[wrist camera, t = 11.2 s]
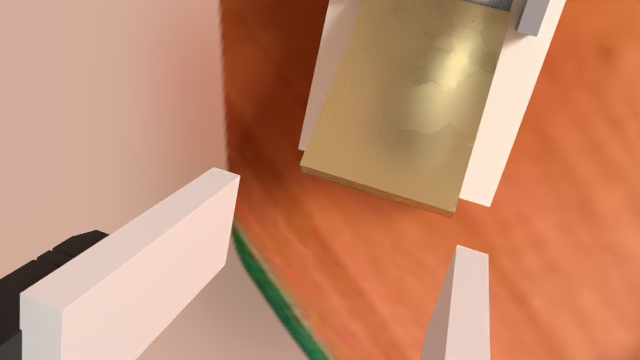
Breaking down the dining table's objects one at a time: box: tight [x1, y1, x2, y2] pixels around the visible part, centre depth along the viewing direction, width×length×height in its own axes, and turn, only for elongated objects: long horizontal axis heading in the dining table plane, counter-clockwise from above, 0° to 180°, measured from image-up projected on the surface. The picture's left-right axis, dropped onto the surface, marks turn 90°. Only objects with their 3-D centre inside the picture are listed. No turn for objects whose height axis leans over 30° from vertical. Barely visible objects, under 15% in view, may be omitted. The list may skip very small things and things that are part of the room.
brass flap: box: [300, 0, 513, 218], centre depth 22 cm, size 10×6×1 cm
